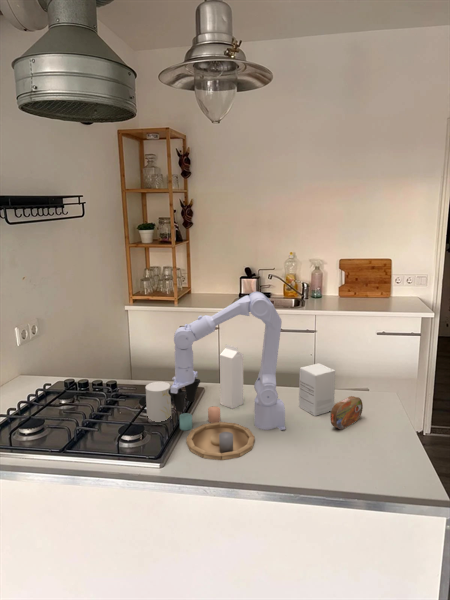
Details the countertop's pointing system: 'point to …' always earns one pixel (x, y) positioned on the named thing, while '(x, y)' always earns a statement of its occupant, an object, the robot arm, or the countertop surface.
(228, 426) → the tray
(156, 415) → the white cylinder
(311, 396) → the supplement box
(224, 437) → the bead charcoal
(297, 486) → the countertop surface
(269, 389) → the robot arm
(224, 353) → the milk
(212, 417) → the bead terracotta
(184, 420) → the bead teal
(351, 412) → the tin
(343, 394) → the countertop surface
